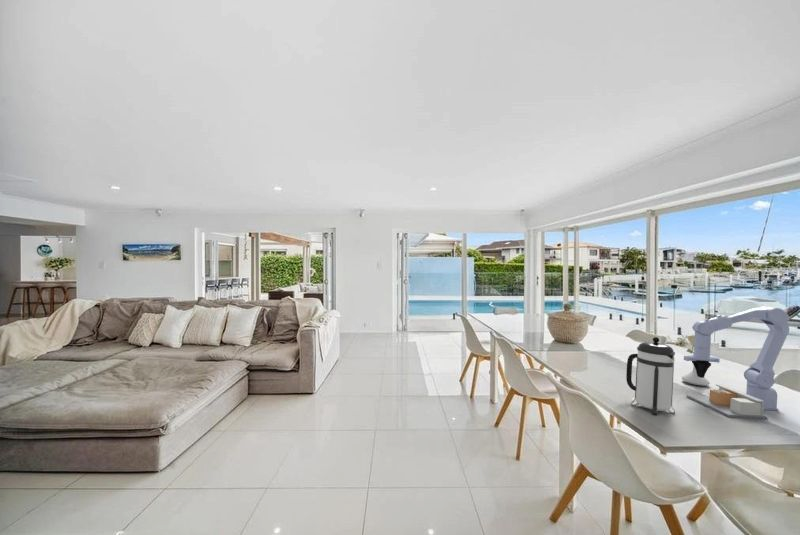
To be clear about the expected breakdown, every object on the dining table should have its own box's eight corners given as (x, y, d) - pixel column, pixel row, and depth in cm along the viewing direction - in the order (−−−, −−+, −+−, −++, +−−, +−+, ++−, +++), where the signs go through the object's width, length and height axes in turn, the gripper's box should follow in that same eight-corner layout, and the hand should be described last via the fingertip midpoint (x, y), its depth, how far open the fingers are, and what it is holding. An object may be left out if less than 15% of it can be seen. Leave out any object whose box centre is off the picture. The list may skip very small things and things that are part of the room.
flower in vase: (715, 388, 180) (717, 339, 180) (690, 386, 182) (692, 337, 182) (698, 380, 193) (700, 334, 193) (674, 378, 195) (677, 332, 195)
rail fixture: (720, 399, 165) (720, 383, 165) (767, 419, 143) (768, 402, 143) (686, 397, 166) (687, 382, 166) (728, 417, 144) (729, 399, 144)
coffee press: (673, 407, 151) (677, 337, 151) (676, 420, 138) (680, 342, 138) (625, 397, 161) (628, 331, 161) (623, 408, 148) (627, 336, 148)
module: (727, 401, 159) (728, 389, 159) (736, 405, 155) (737, 393, 155) (709, 400, 160) (709, 388, 160) (717, 404, 155) (718, 392, 155)
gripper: (711, 346, 168) (709, 375, 168) (679, 344, 169) (677, 373, 169) (724, 349, 161) (722, 380, 161) (691, 348, 161) (689, 378, 162)
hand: (700, 377), depth 164 cm, fingers closed
